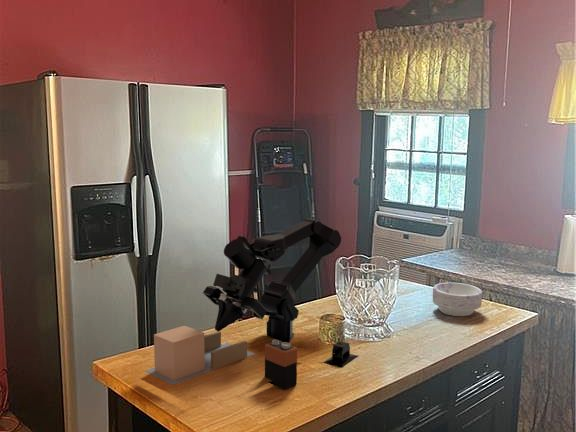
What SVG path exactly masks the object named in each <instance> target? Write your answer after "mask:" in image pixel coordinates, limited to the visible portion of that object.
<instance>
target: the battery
mask: <svg viewBox="0 0 576 432" xmlns="http://www.w3.org/2000/svg"><path fill="white" fill-rule="evenodd" d="M297 368H298V348H297V347H295V346H293V345H292V344H291V343H290V342H282V341H279V340H276V339H273V340H272V341H271V342H269V343H266V344H265V345H264V378H265V379H268V380H270V381H268V383H269V384H270V385H272V386H275V387H276V388H278V389H282V390H287V389H289V388H292V387H294V386H296V385H297V383H298V382H297V381H298V380H297V378H298V377H297V376H298V375H297V373H298V369H297Z"/></svg>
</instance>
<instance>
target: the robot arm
mask: <svg viewBox="0 0 576 432" xmlns="http://www.w3.org/2000/svg"><path fill="white" fill-rule="evenodd" d="M307 238H308V248H307V249H306V250H305V252H303V254H302V255H301V256H300V258H299V259H298V260H297V261H296V263H295V264H294V265H293V266H292V267H291V269H290V270H289V271H288V273H286V275H285V276H284V278H283V279H282V280H281V281H280V282H275V281H271V282H270V283H269V284H268V286H266V288H265V289H264V290H263V291H262V292H263V294H262V295H261V297H260V301H259V300H258V299H257V298H254V297H251V296H252V295H253V294H254V293H255V294H257V293H258V291H259V288H257V287H258V285H259V283H260V281H261V280H262V278H263V277H264V275H268V276H271V275H272V269H271V264H269V263H265V262H264V261H269V262H274V263H275V262H277V261H278V260H279V259H280V258H281V257H283V256H284V255H285V254H286V251H287V250H288V249H289V248H291V247H293V246H294V245H296V244H297V243H300V242H302V241H303V240H305V239H307ZM341 243H342V236H341V234H340V232H339V230H336V229H333V228H331V227H329V226H327V225H326V224H323V222H321V221H319V220H318V219H313V218H308V217H307V218H304V219H303V220H302V221H300V222H298V223H296V224H294V225H293V226H290V227H289V228H286V229H285V230H283V231H280V232H278V233H276V234H269V235H268V234H267V235H263V236H258V237H257V238H255V239H254V240H253V242H251V243H250V242H249V240H248V239H247V238H246V237H245V236H244V235H243V236H242V235H238V237H237V238H236V239H231V241H230V242H228V243H227V244H226V245H225V246H224V248H223V254H224V256H225V257H226V258H227V259H228V260H229V261H230V263H231V264H233V265H234V267H235V268H236V269H238V270H240V271H239V273H238V274H233V275H232V276H227V275H224V274H219V273H216V274H215V277H214V280H213V281H214V282H213V283H212V285H208V286H206V287H205V289H204V290H203V292H202V294H203V295H204V297H206V298H207V299H208V300H209V301H210V302H212V303H213V304H214V305H215V306H218V312H217V317H216V322H215V326H214V330H215V332H217V331H219V332H221V331H222V330H224V329H225V328H226V327H228V326H229V325H231V324H233V323H235V322H237V321H238V320H241V319H242V318H246V316H247V314H246V312H247V311H251V312H253V317H254V318H257V319H259V320H263V319H264V317H265V316H268V320H267V321H266V337H268V338H270V339H273V340H279V341H280V342H283V343H284V342H285V343H290V342H291V340H292V339H293V338H294V335H295V333H294V332H293V331H294V330H293V325H294V324H293V322H294V321H295V319H297V318H298V317H299V312H300V310H299V309H298V308H297V307H296V305H294V304H295V302H296V292H297V291H298V290H299V288H300V287H301V286H302V284H303V283H304V282H305V281H306V279H307V278H308V277H309V276H310V274H311V273H312V271H313V270H314V269H315V267H317V265H318V264H319V263H320V261H321V260H322V259H323V258H325V257H327V256H329V255H330V254H331V255H332V254H334V252H335V251H336V250H337V249H338V248H339V247H340V245H341ZM263 260H264V261H263ZM225 293H226V294H225Z"/></svg>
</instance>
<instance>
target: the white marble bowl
mask: <svg viewBox="0 0 576 432" xmlns="http://www.w3.org/2000/svg"><path fill="white" fill-rule="evenodd" d="M482 301H483V290H482V289H480V288H479V287H477V286H474V285H472V284H468V283H462V282H461V283H460V282H439V283H437V284H435V285H433V287H432V303H433V304H434V305H436V306H437V307H438V309H439V311H440V312H441V313H443V314H445V315H448V316H451V315H452V316H451V317H468V316H470V315H472V314H473V313H474V312H475V311H476V310H477V309H480V308H481V307H482Z"/></svg>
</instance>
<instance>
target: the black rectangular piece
mask: <svg viewBox="0 0 576 432" xmlns="http://www.w3.org/2000/svg"><path fill="white" fill-rule="evenodd" d="M356 358H359V354H353V353H351V346H350V342H346V341H341V340H340V341H337V342H336V343H334V344H333V345H332V350H331V356H330V357H329V358H328V359H326V360H323V362H322V363H323V364H326V365H329V366H333V367H337V368H344V367H346V366H347V365H348V364H350V362H351V363H352V362H353V360H355V359H356Z"/></svg>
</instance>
